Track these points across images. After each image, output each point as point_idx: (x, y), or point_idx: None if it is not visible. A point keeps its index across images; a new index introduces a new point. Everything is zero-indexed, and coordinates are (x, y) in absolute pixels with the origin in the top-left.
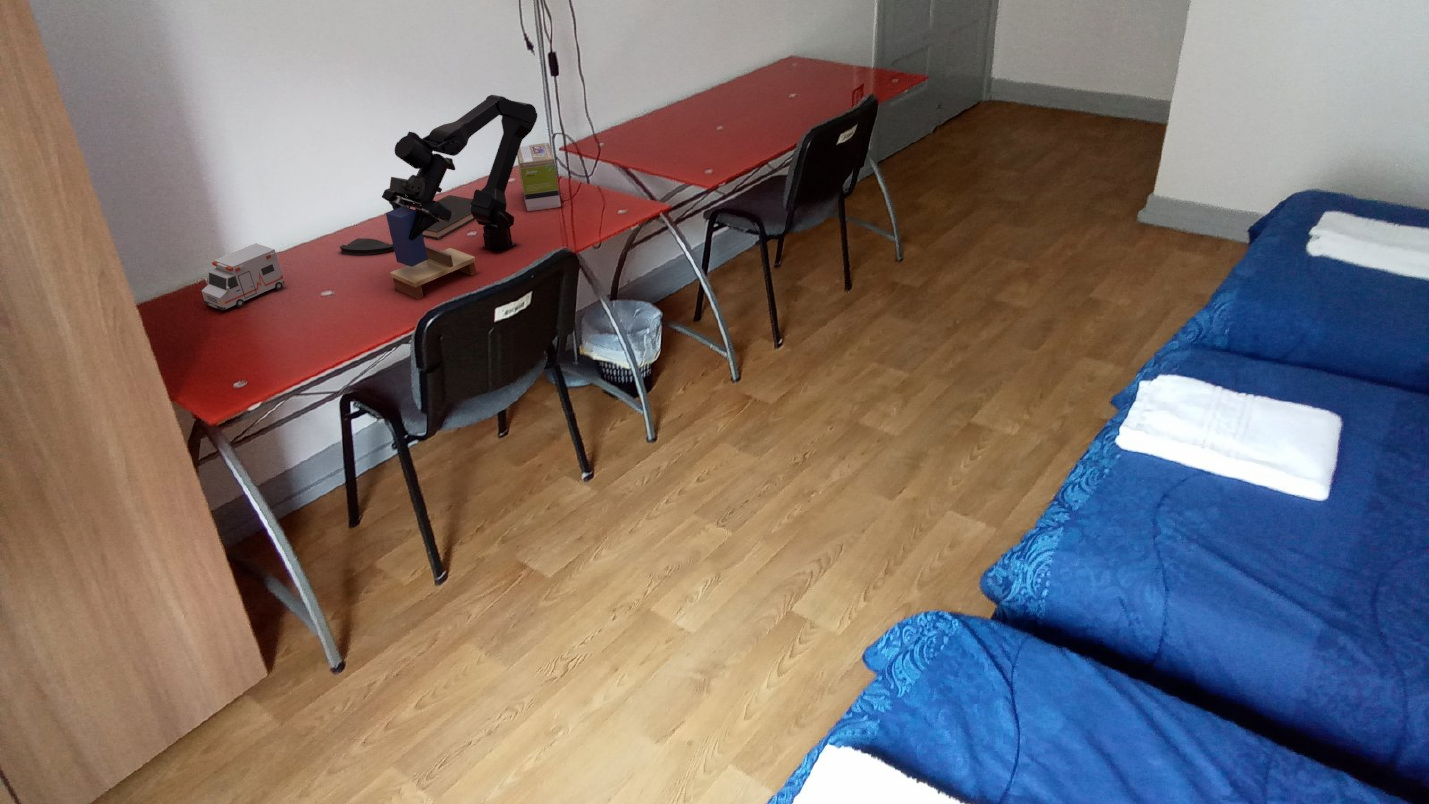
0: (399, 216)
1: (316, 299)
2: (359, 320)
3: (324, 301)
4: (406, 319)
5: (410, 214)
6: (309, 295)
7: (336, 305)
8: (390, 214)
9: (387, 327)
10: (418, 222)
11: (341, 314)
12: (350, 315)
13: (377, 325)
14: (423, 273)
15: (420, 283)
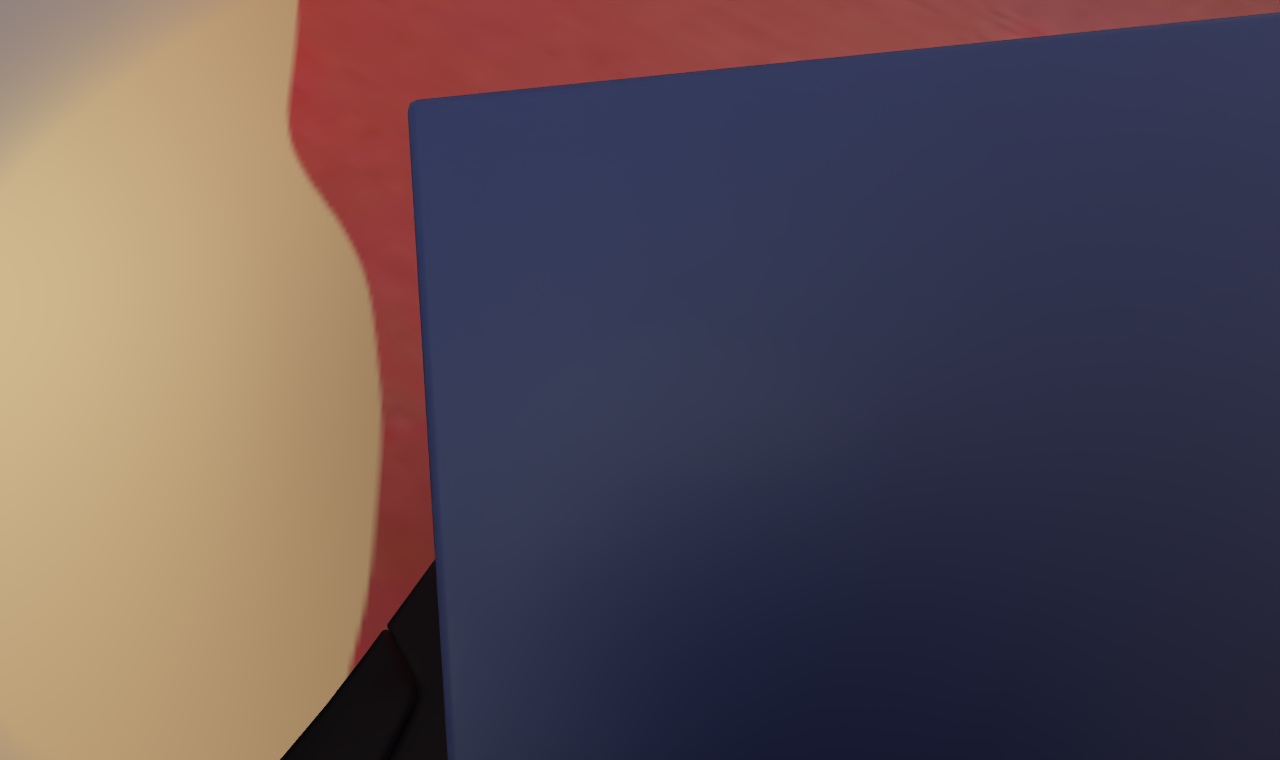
0: (607, 135)
1: (1014, 19)
2: (566, 31)
3: (953, 33)
4: (342, 195)
5: (454, 745)
6: (1096, 21)
7: (849, 48)
8: (1214, 25)
9: (354, 78)
10: (284, 757)
11: (718, 9)
12: (665, 32)
13: (425, 58)
14: None
15: None
